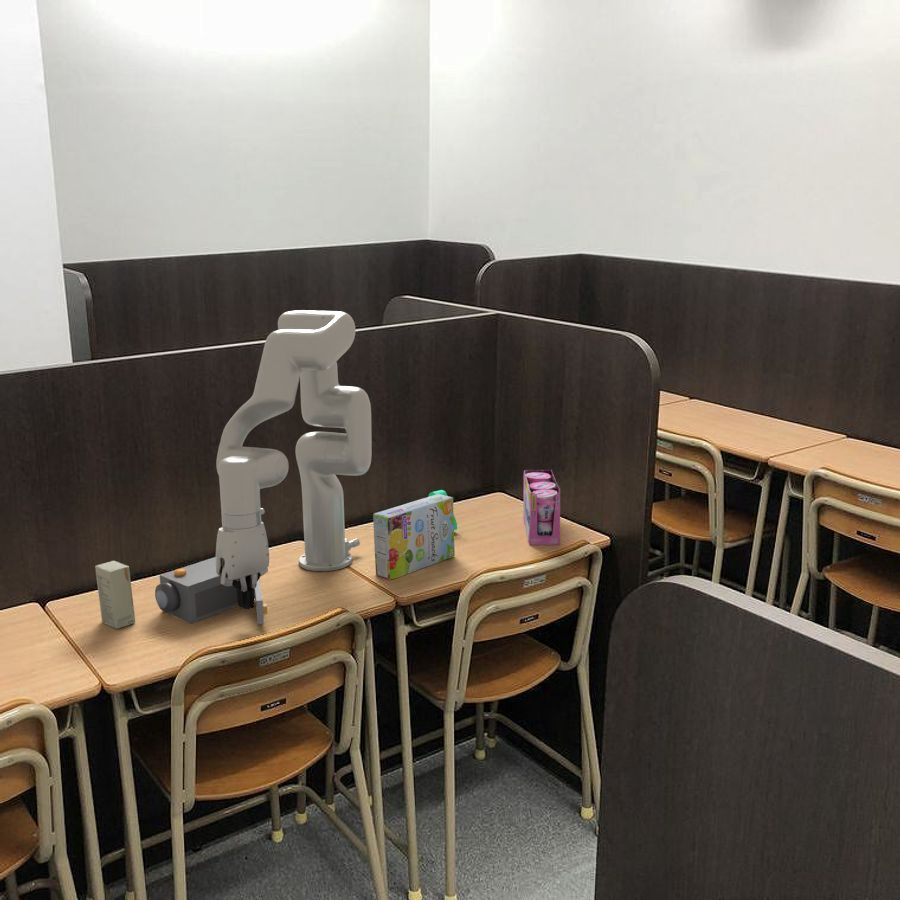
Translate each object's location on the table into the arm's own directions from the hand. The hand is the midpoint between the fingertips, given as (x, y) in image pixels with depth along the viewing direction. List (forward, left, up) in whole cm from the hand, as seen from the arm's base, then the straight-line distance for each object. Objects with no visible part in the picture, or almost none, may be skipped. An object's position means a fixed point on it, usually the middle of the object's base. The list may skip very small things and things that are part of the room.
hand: (246, 607), depth 189 cm
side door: (-6, -3, -3) cm, 7 cm away
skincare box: (+16, -22, -4) cm, 27 cm away
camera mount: (-68, -11, -4) cm, 69 cm away
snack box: (-46, +3, -4) cm, 47 cm away
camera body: (0, -15, -4) cm, 15 cm away
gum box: (-86, +11, -4) cm, 86 cm away
